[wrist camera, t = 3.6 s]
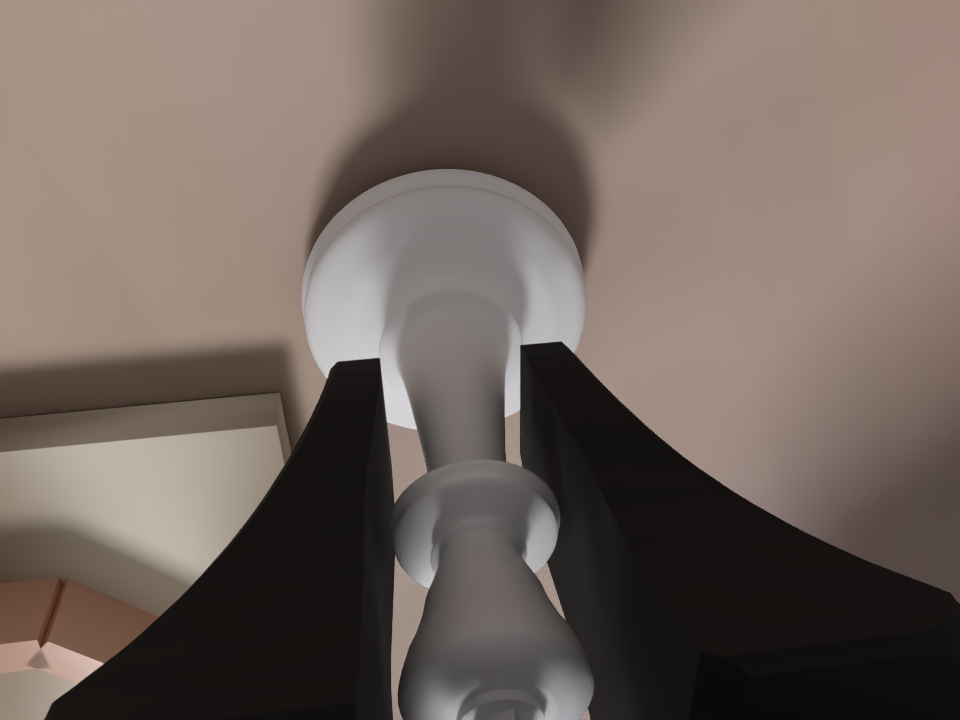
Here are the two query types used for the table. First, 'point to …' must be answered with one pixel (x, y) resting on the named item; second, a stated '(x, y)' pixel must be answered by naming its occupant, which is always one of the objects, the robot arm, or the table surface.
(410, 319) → the chess piece
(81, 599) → the ring collar
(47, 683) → the birch board
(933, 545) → the table surface
